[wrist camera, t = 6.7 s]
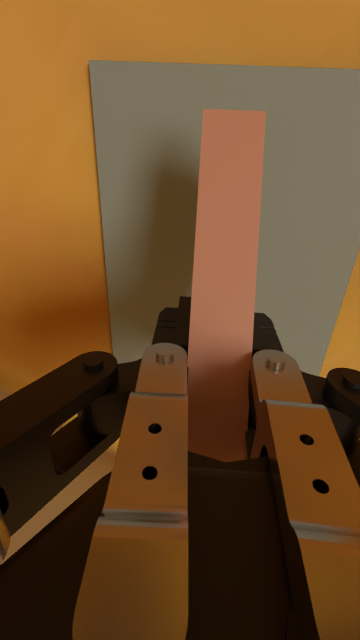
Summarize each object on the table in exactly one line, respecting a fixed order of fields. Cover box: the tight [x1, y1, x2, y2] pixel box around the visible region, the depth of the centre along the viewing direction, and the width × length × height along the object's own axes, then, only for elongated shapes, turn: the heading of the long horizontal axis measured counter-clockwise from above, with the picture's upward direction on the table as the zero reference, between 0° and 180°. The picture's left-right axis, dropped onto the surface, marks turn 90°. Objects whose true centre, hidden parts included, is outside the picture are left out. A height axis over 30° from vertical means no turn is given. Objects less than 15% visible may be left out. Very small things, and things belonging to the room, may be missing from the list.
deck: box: [187, 109, 266, 462], centre depth 12 cm, size 10×2×6 cm
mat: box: [89, 60, 360, 376], centre depth 19 cm, size 18×14×1 cm
